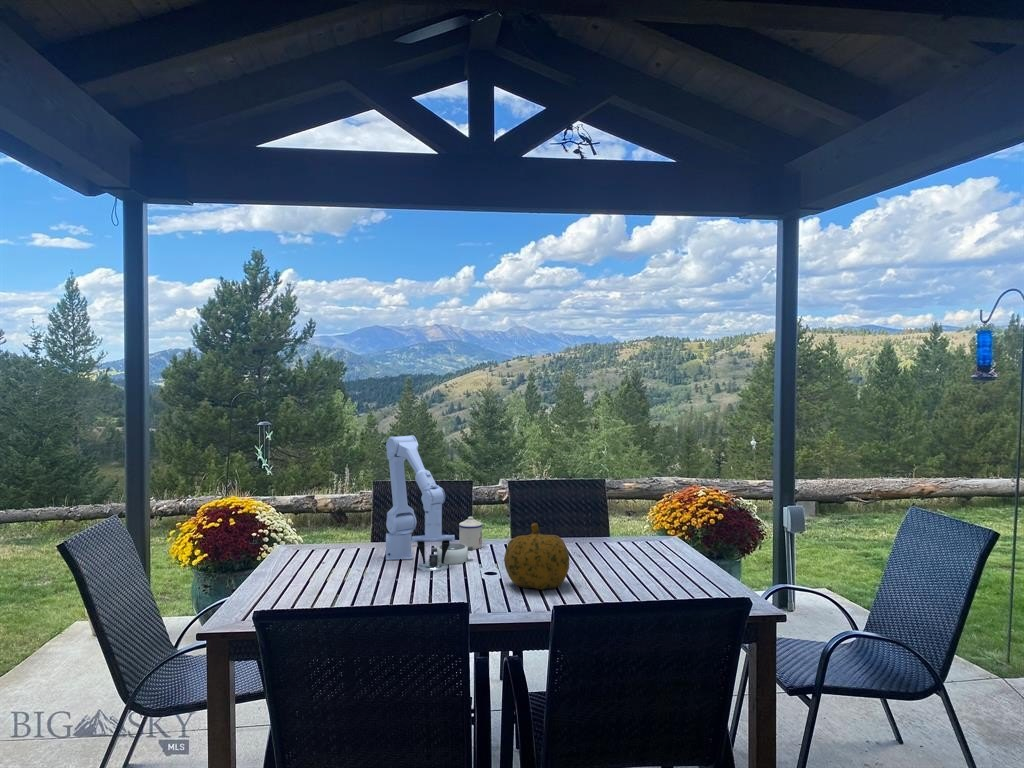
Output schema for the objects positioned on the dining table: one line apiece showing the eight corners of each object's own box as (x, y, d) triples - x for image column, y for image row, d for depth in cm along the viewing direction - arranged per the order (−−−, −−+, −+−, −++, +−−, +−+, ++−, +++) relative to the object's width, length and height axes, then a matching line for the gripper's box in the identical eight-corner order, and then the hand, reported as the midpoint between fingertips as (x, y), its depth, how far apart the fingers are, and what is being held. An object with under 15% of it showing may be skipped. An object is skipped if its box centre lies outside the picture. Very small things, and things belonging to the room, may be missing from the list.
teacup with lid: (484, 549, 278) (484, 518, 278) (461, 550, 275) (461, 519, 275) (477, 542, 289) (477, 512, 289) (455, 543, 287) (455, 514, 287)
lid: (417, 572, 245) (418, 559, 245) (419, 564, 255) (419, 551, 255) (447, 572, 246) (447, 559, 246) (448, 564, 256) (448, 551, 256)
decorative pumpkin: (553, 596, 214) (550, 527, 216) (494, 591, 226) (491, 526, 227) (584, 583, 231) (581, 519, 233) (527, 579, 243) (524, 518, 244)
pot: (432, 565, 254) (432, 550, 254) (431, 557, 265) (431, 543, 265) (474, 563, 256) (474, 549, 256) (471, 556, 267) (471, 542, 267)
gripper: (412, 526, 245) (412, 566, 246) (455, 525, 247) (455, 565, 248) (412, 522, 252) (412, 561, 253) (454, 521, 254) (454, 560, 255)
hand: (433, 563), depth 250 cm, fingers open, 6 cm apart
